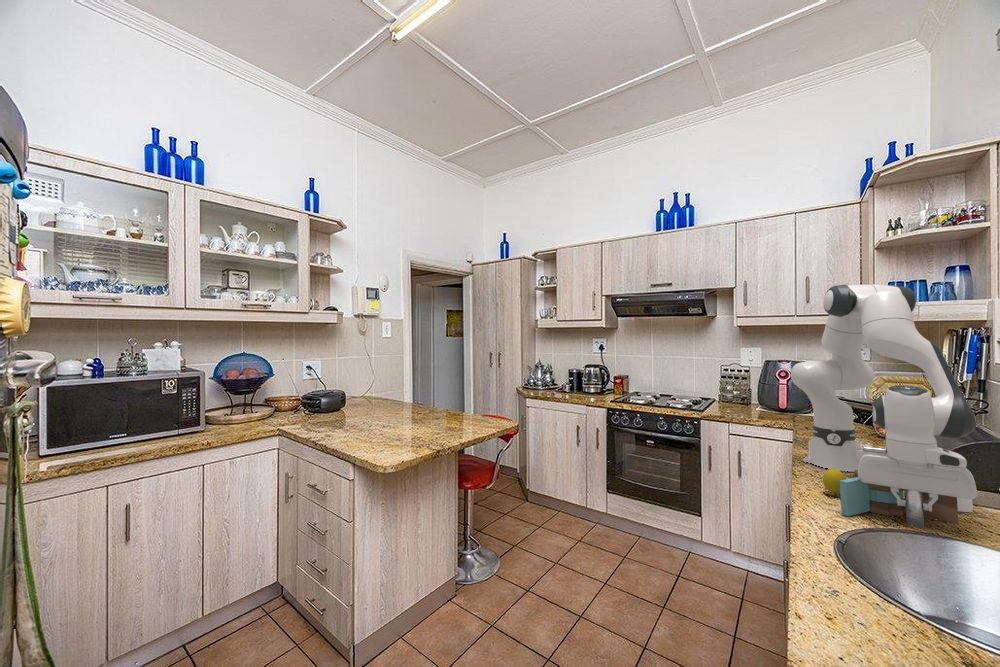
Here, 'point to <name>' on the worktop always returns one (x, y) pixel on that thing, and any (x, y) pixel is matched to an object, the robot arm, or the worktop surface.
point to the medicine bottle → (964, 505)
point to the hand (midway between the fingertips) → (914, 508)
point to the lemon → (833, 480)
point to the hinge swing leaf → (862, 496)
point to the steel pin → (914, 508)
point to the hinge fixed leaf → (941, 510)
